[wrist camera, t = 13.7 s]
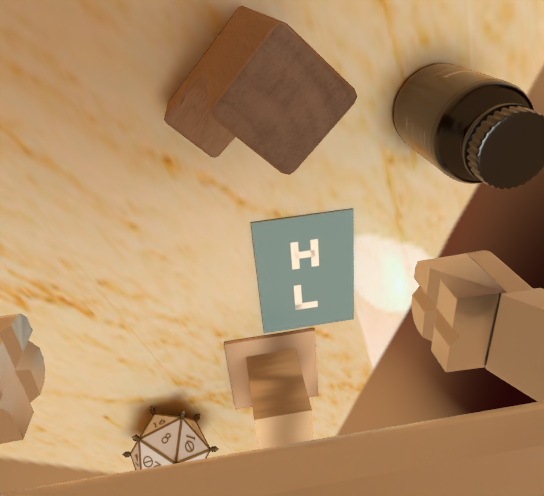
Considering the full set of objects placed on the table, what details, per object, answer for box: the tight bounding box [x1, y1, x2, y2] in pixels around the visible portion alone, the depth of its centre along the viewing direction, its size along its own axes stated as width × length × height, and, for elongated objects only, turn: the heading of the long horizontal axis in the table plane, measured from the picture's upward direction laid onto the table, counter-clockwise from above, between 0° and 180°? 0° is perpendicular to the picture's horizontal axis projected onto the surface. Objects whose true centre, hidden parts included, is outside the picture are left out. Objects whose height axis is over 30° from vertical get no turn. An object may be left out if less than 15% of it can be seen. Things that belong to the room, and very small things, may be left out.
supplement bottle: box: [394, 64, 544, 189], centre depth 33 cm, size 7×7×12 cm
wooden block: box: [164, 6, 357, 175], centre depth 27 cm, size 9×4×18 cm, turn 139°
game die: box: [122, 406, 218, 470], centre depth 47 cm, size 9×8×10 cm
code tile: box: [251, 209, 354, 333], centre depth 44 cm, size 9×12×1 cm
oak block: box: [246, 349, 314, 449], centre depth 45 cm, size 5×5×8 cm
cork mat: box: [224, 328, 318, 409], centre depth 49 cm, size 9×9×1 cm
